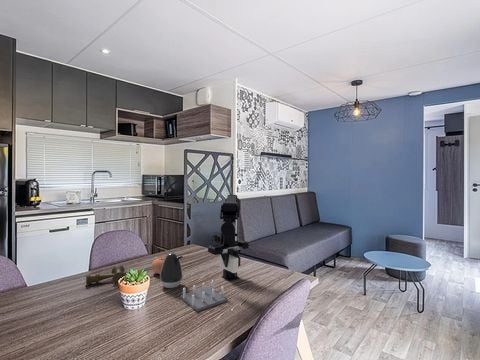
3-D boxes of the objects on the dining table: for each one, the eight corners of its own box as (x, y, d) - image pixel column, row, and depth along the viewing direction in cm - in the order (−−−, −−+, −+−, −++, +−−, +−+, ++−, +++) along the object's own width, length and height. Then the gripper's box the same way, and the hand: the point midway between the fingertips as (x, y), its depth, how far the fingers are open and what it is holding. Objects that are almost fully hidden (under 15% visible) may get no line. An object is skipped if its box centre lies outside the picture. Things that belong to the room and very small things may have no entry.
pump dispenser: (177, 291, 117) (177, 257, 116) (155, 289, 119) (156, 255, 118) (186, 282, 127) (187, 251, 126) (166, 280, 129) (166, 249, 128)
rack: (209, 288, 120) (209, 277, 120) (227, 300, 109) (228, 288, 109) (179, 297, 111) (179, 286, 111) (196, 311, 100) (196, 298, 100)
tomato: (156, 278, 131) (156, 262, 131) (148, 272, 139) (148, 256, 139) (176, 273, 138) (176, 258, 137) (167, 267, 146) (167, 253, 146)
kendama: (86, 282, 126) (131, 274, 136) (85, 290, 118) (133, 281, 127) (86, 269, 126) (131, 262, 135) (85, 277, 117) (133, 269, 127)
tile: (224, 265, 121) (224, 252, 121) (238, 271, 114) (238, 258, 114) (219, 266, 120) (219, 253, 120) (233, 273, 112) (233, 259, 112)
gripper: (234, 225, 129) (233, 258, 129) (201, 230, 117) (200, 265, 117) (249, 229, 120) (249, 264, 120) (215, 235, 108) (215, 273, 108)
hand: (228, 266), depth 117 cm, fingers closed on tile, 2 cm apart
